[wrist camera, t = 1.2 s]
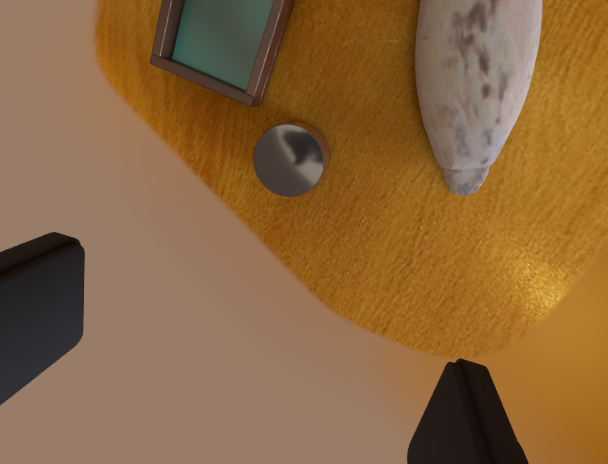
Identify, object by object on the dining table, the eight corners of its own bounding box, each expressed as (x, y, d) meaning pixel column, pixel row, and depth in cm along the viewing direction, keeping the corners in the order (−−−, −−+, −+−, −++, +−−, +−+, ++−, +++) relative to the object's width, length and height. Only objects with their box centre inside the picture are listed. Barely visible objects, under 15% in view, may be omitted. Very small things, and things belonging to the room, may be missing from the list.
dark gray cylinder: (289, 107, 24) (277, 108, 22) (343, 147, 25) (338, 153, 22) (255, 162, 26) (240, 169, 23) (306, 199, 26) (297, 210, 23)
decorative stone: (412, 192, 25) (417, 205, 21) (412, -92, 20) (419, -129, 17) (513, 187, 23) (534, 201, 20) (540, -118, 19) (572, -163, 15)
